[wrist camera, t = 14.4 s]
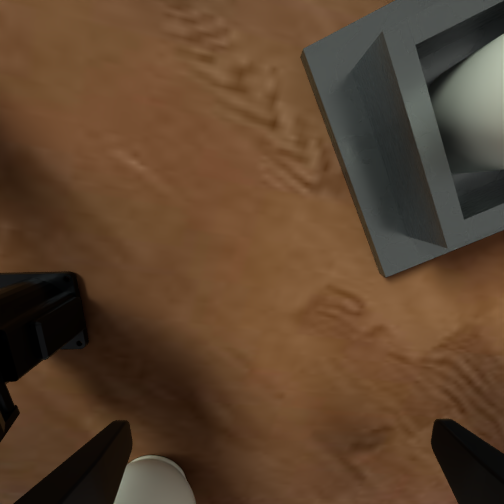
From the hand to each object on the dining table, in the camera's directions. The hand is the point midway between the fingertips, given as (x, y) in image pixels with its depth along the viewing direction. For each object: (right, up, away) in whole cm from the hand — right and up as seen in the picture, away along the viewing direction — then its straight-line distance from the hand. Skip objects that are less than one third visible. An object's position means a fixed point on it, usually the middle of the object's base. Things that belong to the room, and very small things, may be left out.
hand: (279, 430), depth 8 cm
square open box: (+13, +14, +10) cm, 21 cm away
